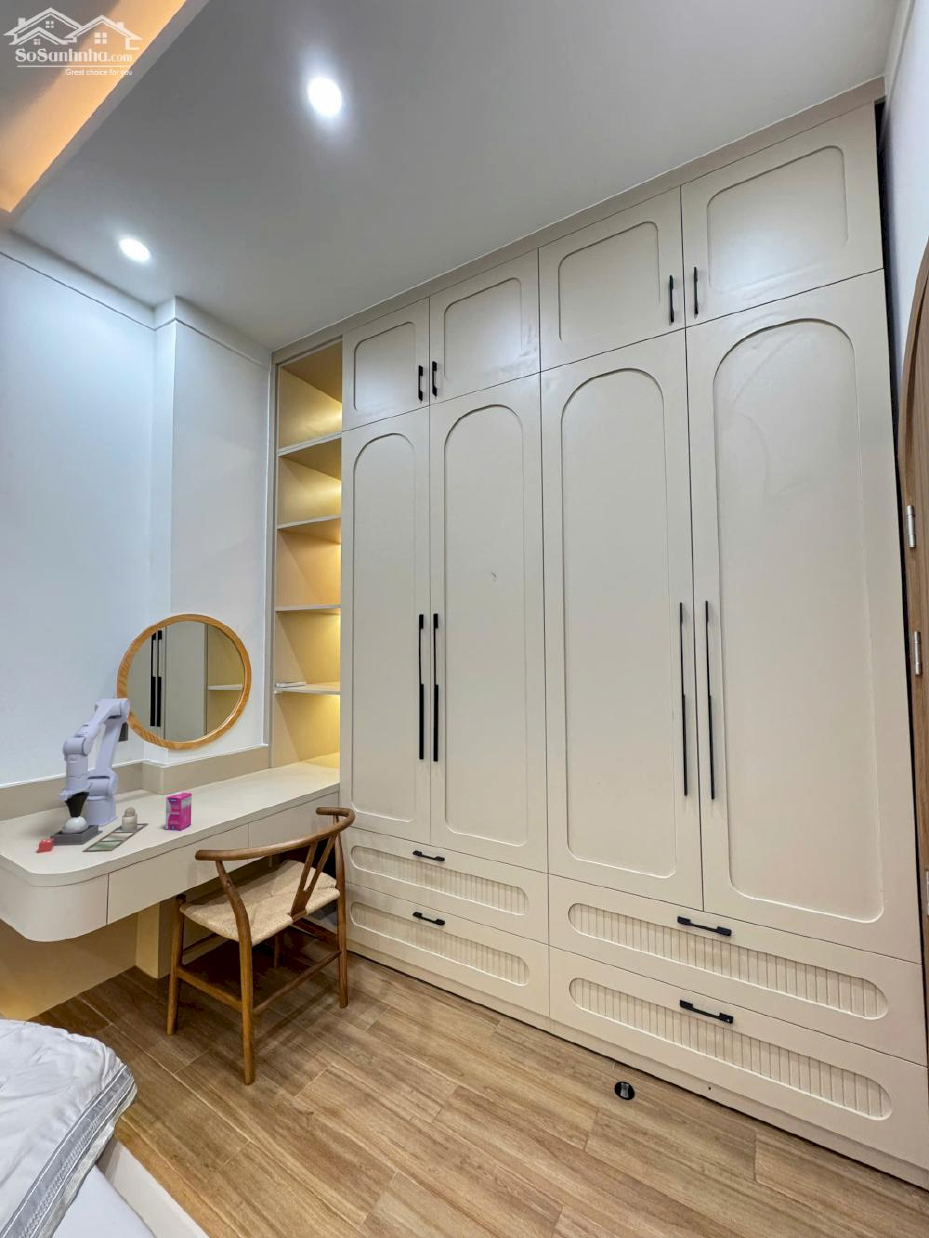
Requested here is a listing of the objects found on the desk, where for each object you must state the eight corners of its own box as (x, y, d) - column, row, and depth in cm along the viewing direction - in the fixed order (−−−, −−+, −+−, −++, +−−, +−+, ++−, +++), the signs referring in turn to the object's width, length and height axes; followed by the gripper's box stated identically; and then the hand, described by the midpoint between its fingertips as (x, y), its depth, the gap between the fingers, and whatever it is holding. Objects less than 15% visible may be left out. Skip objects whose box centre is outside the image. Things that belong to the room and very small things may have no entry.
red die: (41, 849, 162) (41, 839, 162) (53, 848, 163) (53, 838, 163) (38, 853, 159) (38, 843, 159) (50, 851, 160) (51, 841, 161)
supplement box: (164, 830, 178) (165, 796, 179) (176, 824, 184) (177, 791, 184) (180, 831, 177) (180, 797, 178) (191, 825, 183) (192, 792, 183)
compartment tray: (122, 825, 183) (122, 824, 183) (148, 824, 184) (148, 823, 184) (82, 852, 160) (82, 851, 160) (111, 851, 161) (111, 849, 161)
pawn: (126, 826, 181) (126, 805, 181) (139, 826, 182) (140, 805, 182) (119, 831, 177) (119, 809, 177) (133, 830, 177) (133, 809, 178)
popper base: (67, 833, 175) (67, 824, 175) (102, 832, 176) (102, 823, 177) (45, 846, 164) (45, 836, 164) (82, 845, 166) (83, 835, 166)
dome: (70, 830, 174) (70, 813, 174) (92, 829, 174) (93, 812, 174) (56, 838, 167) (56, 820, 167) (80, 837, 167) (80, 819, 168)
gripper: (77, 769, 178) (76, 809, 177) (48, 780, 163) (47, 824, 163) (99, 768, 179) (98, 809, 178) (73, 780, 164) (71, 824, 164)
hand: (75, 816), depth 171 cm, fingers closed, pressing on dome
